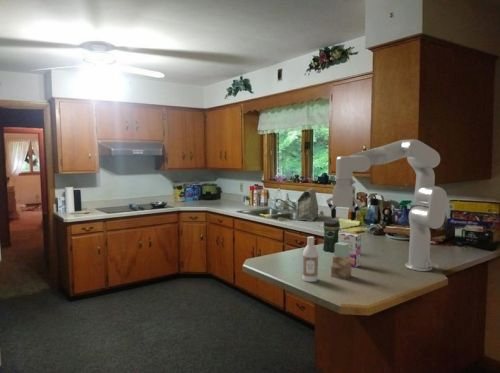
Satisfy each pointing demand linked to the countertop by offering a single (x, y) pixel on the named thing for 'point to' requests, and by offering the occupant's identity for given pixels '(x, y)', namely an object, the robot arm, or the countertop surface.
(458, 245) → the countertop surface
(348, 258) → the oak top
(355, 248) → the candy bar box
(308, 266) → the bath foam
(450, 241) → the countertop surface
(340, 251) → the sage block
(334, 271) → the walnut base
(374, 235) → the countertop surface
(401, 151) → the robot arm
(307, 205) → the bag
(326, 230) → the coffee jar
